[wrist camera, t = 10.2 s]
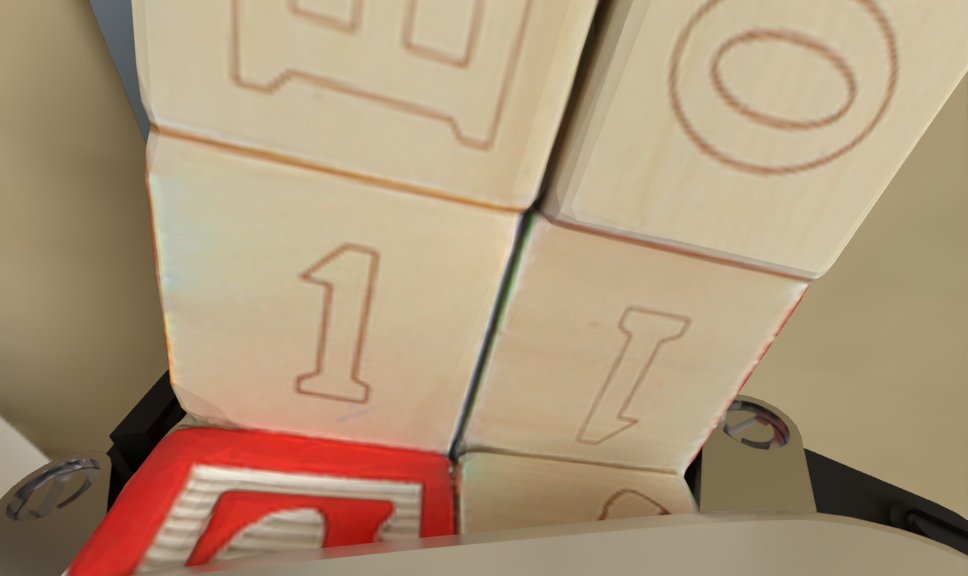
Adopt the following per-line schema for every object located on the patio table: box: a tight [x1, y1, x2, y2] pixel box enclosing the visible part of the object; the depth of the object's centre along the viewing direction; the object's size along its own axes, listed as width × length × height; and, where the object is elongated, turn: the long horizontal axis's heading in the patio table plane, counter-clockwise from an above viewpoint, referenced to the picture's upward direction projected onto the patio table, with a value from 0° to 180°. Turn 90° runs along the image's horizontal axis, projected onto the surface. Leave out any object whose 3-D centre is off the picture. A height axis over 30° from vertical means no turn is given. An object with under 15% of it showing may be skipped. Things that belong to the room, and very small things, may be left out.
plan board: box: [89, 0, 151, 145], centre depth 15 cm, size 30×16×1 cm, turn 2°
